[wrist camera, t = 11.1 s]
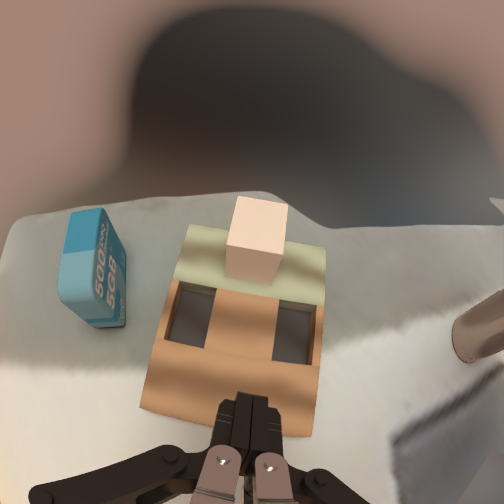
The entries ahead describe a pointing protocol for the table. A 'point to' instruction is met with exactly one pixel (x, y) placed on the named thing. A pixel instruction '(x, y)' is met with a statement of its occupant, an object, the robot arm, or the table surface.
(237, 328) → the board
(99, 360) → the table surface
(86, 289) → the data package
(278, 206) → the block
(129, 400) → the table surface
